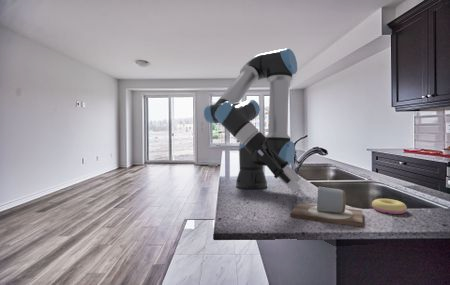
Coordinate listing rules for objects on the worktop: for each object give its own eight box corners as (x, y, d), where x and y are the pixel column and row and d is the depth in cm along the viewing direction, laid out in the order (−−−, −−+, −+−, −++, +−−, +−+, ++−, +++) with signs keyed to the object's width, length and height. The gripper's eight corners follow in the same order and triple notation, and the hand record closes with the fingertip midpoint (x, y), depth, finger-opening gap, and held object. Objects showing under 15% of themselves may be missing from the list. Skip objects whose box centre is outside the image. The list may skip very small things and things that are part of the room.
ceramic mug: (346, 216, 75) (346, 190, 75) (316, 214, 78) (316, 189, 78) (342, 207, 85) (343, 184, 85) (316, 205, 88) (316, 182, 88)
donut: (388, 212, 90) (365, 210, 89) (388, 198, 91) (365, 196, 90) (414, 216, 81) (388, 214, 79) (414, 201, 81) (388, 199, 80)
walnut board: (298, 206, 91) (298, 202, 91) (362, 213, 82) (362, 209, 82) (289, 217, 80) (289, 213, 80) (362, 227, 70) (362, 222, 70)
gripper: (251, 144, 99) (291, 184, 96) (234, 149, 76) (287, 202, 72) (264, 130, 98) (305, 171, 94) (252, 131, 74) (306, 185, 70)
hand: (297, 185), depth 83 cm, fingers open, 13 cm apart
